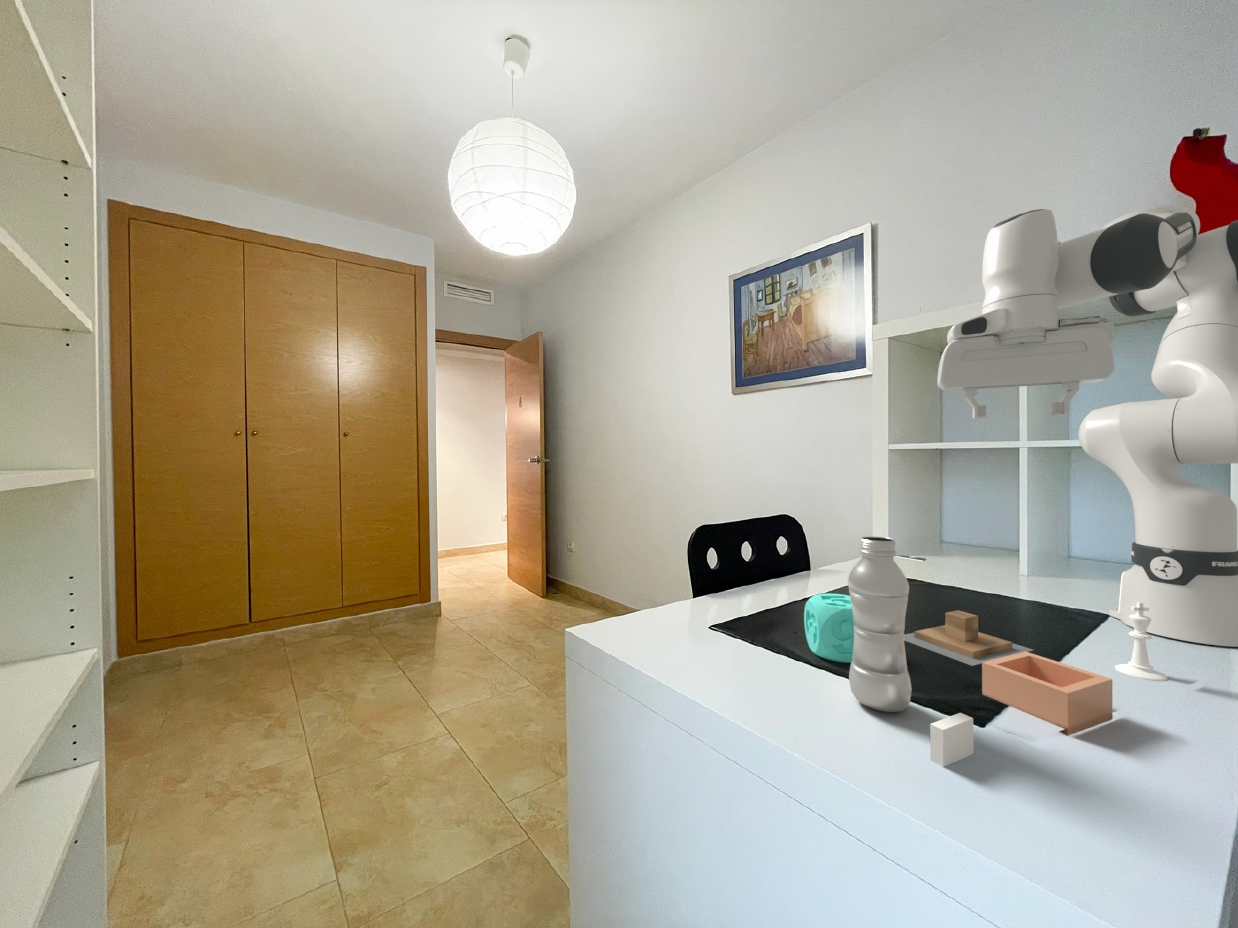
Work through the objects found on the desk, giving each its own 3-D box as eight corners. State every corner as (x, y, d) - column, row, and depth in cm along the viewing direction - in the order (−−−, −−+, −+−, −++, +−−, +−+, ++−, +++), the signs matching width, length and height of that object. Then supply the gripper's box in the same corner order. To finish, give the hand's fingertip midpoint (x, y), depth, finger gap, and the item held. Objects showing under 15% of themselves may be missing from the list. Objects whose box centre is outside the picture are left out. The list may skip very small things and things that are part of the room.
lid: (952, 629, 81) (951, 602, 81) (1012, 648, 72) (1012, 619, 72) (914, 637, 78) (914, 609, 78) (972, 658, 69) (972, 627, 69)
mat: (953, 628, 83) (953, 624, 83) (1034, 653, 72) (1034, 649, 72) (894, 640, 78) (894, 636, 78) (972, 669, 67) (972, 665, 67)
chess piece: (1180, 687, 61) (1179, 608, 61) (1134, 684, 62) (1133, 607, 62) (1146, 670, 66) (1145, 597, 66) (1104, 667, 67) (1103, 596, 67)
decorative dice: (855, 643, 77) (855, 593, 77) (877, 664, 69) (876, 608, 69) (804, 641, 78) (803, 592, 78) (819, 662, 70) (819, 607, 70)
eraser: (930, 760, 47) (930, 723, 47) (960, 747, 49) (960, 712, 49) (943, 767, 46) (943, 729, 46) (973, 754, 48) (973, 718, 48)
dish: (1025, 686, 62) (1025, 651, 62) (1112, 718, 54) (1112, 678, 54) (982, 698, 59) (982, 662, 59) (1067, 735, 51) (1067, 693, 51)
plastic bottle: (889, 725, 53) (888, 545, 53) (836, 699, 59) (835, 537, 59) (924, 711, 56) (922, 540, 56) (870, 687, 62) (869, 533, 62)
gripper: (1104, 320, 70) (1104, 415, 70) (936, 337, 79) (935, 420, 79) (1124, 307, 64) (1123, 411, 64) (940, 327, 74) (940, 417, 74)
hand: (1018, 416), depth 72 cm, fingers open, 8 cm apart
